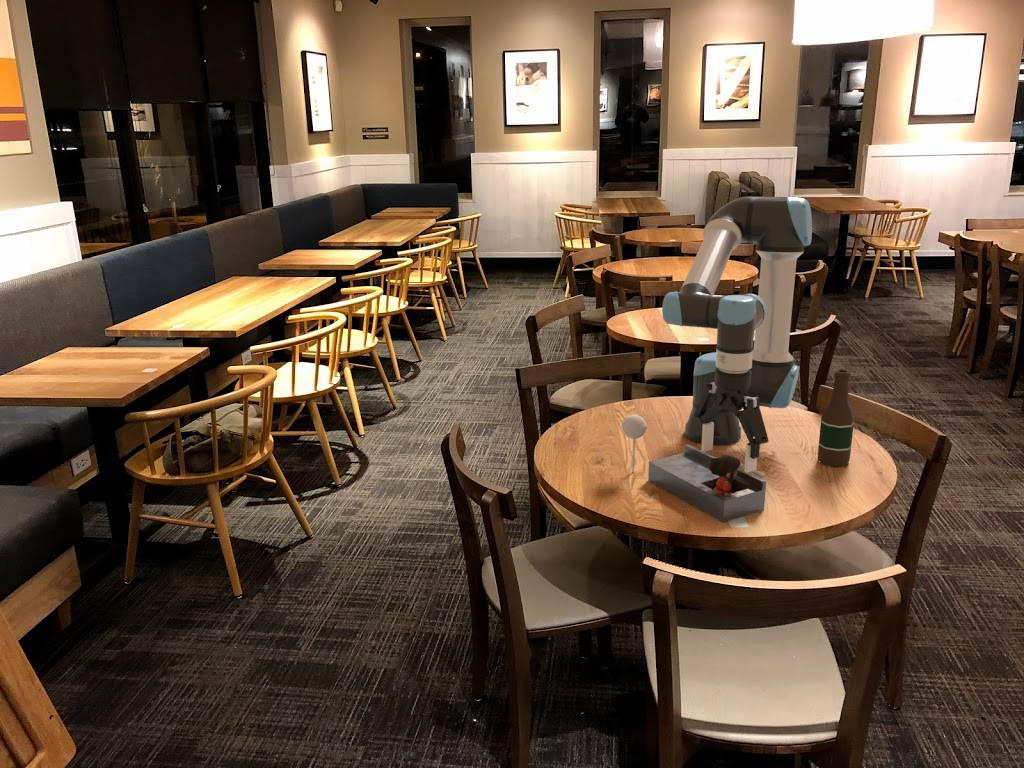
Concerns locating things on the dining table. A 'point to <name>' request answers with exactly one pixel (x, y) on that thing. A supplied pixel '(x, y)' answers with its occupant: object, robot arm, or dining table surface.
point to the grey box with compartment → (707, 485)
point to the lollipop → (634, 430)
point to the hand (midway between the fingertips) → (727, 460)
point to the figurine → (724, 472)
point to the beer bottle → (837, 425)
